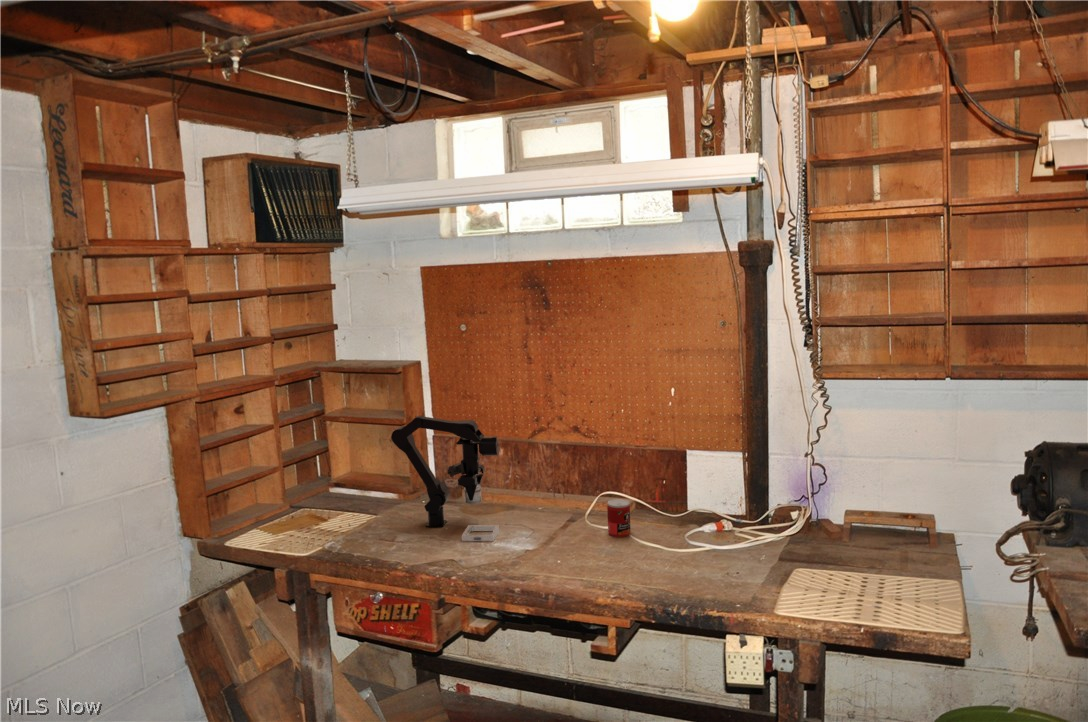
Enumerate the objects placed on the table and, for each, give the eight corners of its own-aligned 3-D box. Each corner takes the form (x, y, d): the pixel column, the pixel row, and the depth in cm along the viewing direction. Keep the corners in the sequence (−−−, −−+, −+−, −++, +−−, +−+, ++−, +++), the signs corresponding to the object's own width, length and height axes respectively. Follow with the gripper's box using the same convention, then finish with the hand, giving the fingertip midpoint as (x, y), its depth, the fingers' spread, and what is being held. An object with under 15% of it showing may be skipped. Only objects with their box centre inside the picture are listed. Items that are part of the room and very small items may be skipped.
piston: (466, 498, 292) (466, 482, 292) (483, 498, 292) (482, 482, 291) (463, 503, 286) (462, 487, 286) (479, 503, 286) (478, 487, 285)
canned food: (620, 539, 269) (619, 507, 268) (603, 533, 275) (602, 502, 274) (635, 533, 274) (634, 502, 273) (618, 528, 280) (617, 497, 279)
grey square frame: (468, 530, 284) (468, 525, 283) (499, 530, 282) (498, 525, 282) (461, 541, 272) (461, 536, 272) (493, 542, 271) (492, 536, 271)
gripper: (454, 450, 297) (457, 490, 299) (442, 462, 279) (445, 505, 281) (484, 449, 296) (486, 490, 298) (473, 462, 277) (476, 505, 279)
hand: (472, 497), depth 289 cm, fingers closed on piston, 6 cm apart
